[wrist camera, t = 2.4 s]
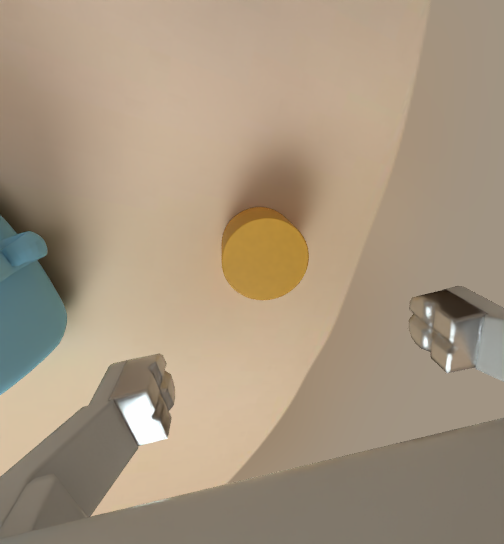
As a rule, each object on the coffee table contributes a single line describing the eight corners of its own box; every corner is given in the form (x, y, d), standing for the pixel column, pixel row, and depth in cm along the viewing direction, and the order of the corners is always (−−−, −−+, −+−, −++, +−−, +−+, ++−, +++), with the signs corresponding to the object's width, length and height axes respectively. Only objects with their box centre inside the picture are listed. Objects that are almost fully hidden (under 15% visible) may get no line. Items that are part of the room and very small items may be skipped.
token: (289, 199, 18) (303, 209, 15) (298, 269, 20) (313, 290, 17) (213, 215, 18) (211, 228, 15) (230, 284, 20) (232, 308, 17)
